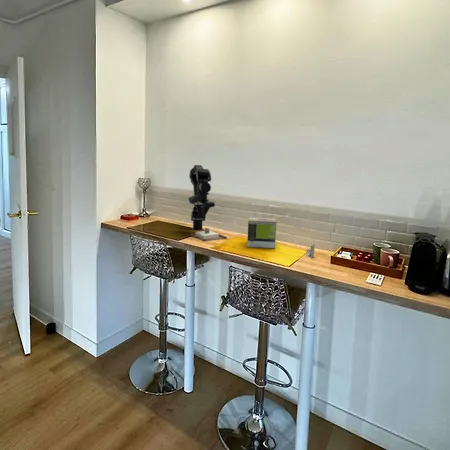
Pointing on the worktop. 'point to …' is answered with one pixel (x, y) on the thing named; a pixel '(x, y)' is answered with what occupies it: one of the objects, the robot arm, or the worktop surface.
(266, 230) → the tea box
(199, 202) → the robot arm
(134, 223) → the worktop surface
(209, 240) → the brown flat slab
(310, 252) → the architectural model
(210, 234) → the cover plate
